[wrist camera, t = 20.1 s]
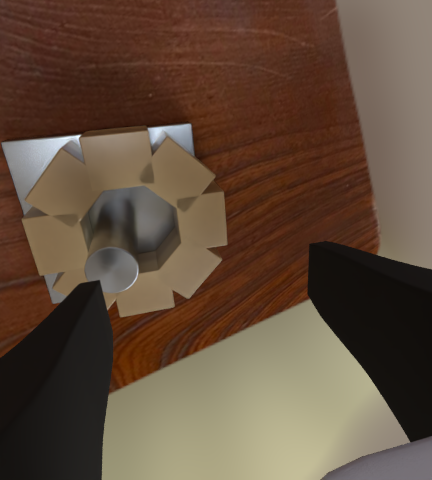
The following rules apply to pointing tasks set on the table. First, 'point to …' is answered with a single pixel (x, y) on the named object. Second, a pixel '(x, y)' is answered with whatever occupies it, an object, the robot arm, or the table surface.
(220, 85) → the table surface
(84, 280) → the ring
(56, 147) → the peg stand
